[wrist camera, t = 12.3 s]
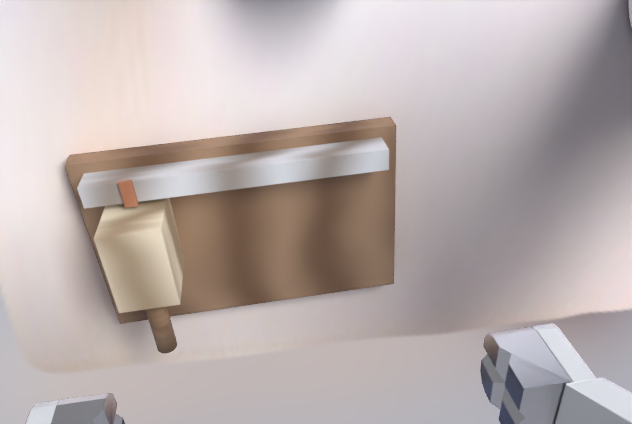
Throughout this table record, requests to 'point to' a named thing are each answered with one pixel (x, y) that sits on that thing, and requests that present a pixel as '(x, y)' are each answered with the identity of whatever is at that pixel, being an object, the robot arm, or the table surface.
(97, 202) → the walnut board
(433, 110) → the table surface
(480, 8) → the table surface
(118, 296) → the wooden mallet
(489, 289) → the table surface
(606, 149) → the table surface
